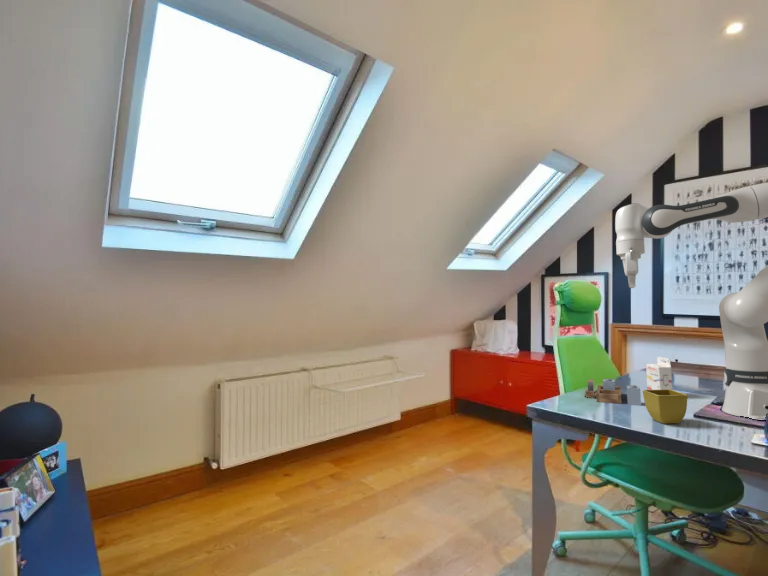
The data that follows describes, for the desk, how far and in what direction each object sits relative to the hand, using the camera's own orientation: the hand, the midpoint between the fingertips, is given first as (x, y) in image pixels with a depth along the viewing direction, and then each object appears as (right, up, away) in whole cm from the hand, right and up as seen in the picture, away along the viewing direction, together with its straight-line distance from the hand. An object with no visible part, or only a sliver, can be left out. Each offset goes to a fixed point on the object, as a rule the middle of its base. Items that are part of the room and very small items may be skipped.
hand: (632, 287), depth 152 cm
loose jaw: (+1, -42, 0) cm, 42 cm away
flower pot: (-3, -41, -23) cm, 47 cm away
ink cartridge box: (+17, -42, +11) cm, 47 cm away
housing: (-5, -42, +11) cm, 44 cm away
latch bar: (-6, -42, +19) cm, 47 cm away
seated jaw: (-1, -42, +13) cm, 44 cm away
